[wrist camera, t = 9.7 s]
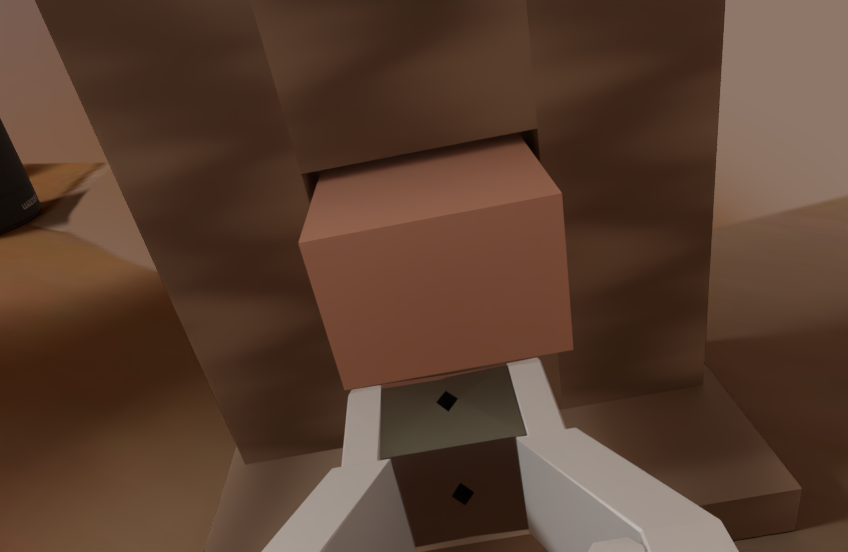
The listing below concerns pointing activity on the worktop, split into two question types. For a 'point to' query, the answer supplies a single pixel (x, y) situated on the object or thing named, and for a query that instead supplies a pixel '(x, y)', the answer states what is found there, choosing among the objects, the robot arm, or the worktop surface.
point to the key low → (438, 261)
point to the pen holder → (14, 188)
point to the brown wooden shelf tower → (411, 132)
